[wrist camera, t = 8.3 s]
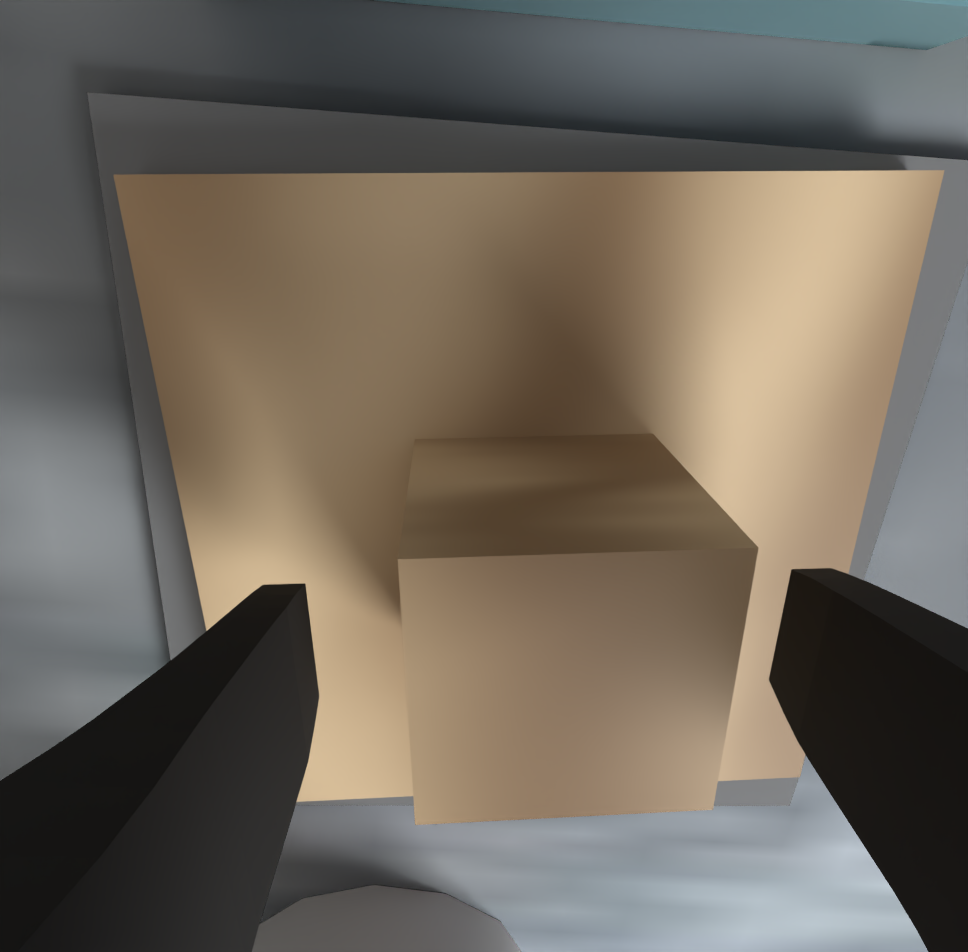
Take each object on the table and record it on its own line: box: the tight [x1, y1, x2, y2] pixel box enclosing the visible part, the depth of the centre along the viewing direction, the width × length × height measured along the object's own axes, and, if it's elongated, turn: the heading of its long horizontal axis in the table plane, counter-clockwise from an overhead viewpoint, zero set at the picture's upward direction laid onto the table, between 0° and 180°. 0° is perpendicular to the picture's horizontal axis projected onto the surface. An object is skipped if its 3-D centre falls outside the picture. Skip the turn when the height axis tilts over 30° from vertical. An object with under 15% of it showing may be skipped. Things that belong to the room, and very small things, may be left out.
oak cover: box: [113, 170, 944, 825], centre depth 10 cm, size 12×12×5 cm
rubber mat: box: [87, 92, 968, 806], centre depth 13 cm, size 14×14×1 cm
